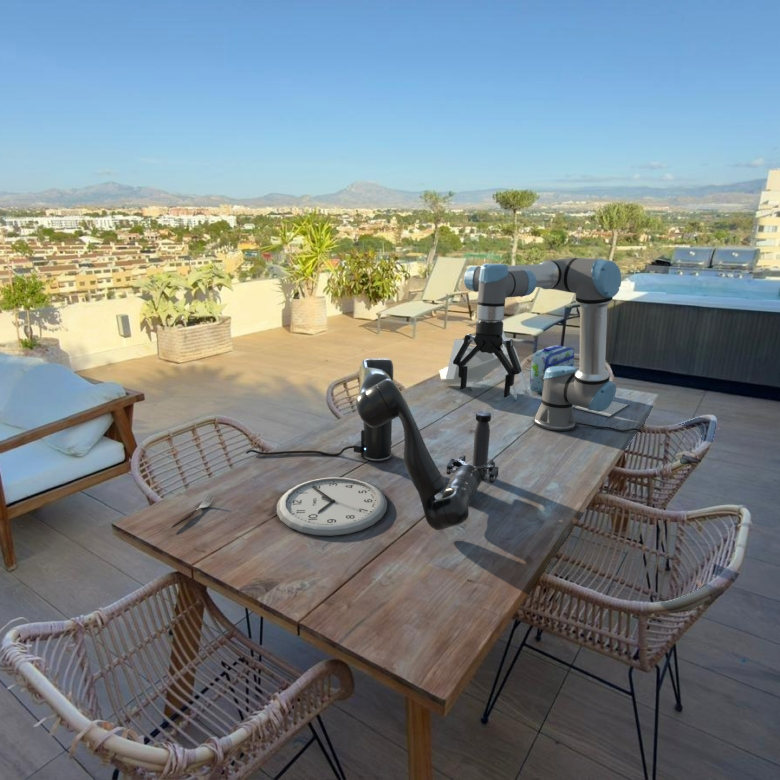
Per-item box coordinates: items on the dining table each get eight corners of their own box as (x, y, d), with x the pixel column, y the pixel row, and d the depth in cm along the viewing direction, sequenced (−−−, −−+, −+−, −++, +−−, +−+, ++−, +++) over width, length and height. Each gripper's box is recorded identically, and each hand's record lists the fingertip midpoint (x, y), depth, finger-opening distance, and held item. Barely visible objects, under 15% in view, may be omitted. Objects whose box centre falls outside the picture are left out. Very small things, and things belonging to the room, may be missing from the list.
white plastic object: (461, 429, 252) (437, 405, 227) (444, 352, 274) (420, 323, 250) (535, 404, 240) (518, 377, 215) (510, 326, 262) (492, 293, 237)
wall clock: (392, 527, 129) (268, 531, 127) (391, 533, 130) (269, 537, 127) (383, 473, 158) (282, 475, 155) (383, 478, 158) (282, 480, 156)
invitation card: (608, 416, 214) (573, 407, 224) (608, 416, 214) (573, 408, 224) (628, 404, 229) (594, 396, 238) (628, 405, 229) (594, 397, 238)
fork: (167, 528, 130) (166, 521, 130) (209, 498, 145) (208, 492, 144) (175, 530, 130) (174, 523, 129) (216, 500, 144) (216, 494, 143)
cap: (487, 417, 158) (488, 410, 158) (492, 422, 154) (493, 415, 154) (473, 417, 158) (474, 411, 157) (478, 422, 153) (479, 416, 153)
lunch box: (546, 398, 236) (551, 353, 229) (525, 393, 243) (529, 349, 237) (573, 387, 253) (579, 344, 247) (553, 382, 260) (558, 341, 254)
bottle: (483, 472, 164) (488, 411, 158) (488, 478, 160) (493, 417, 154) (469, 473, 163) (474, 412, 157) (474, 479, 159) (478, 417, 153)
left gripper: (490, 476, 139) (502, 453, 153) (439, 466, 144) (455, 444, 158) (488, 501, 141) (500, 476, 155) (438, 490, 146) (454, 467, 161)
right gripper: (537, 323, 144) (530, 396, 150) (455, 314, 156) (451, 382, 163) (529, 326, 138) (521, 403, 144) (444, 317, 150) (440, 388, 157)
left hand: (478, 460), depth 157 cm, fingers open, 8 cm apart
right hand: (484, 392), depth 154 cm, fingers open, 13 cm apart
